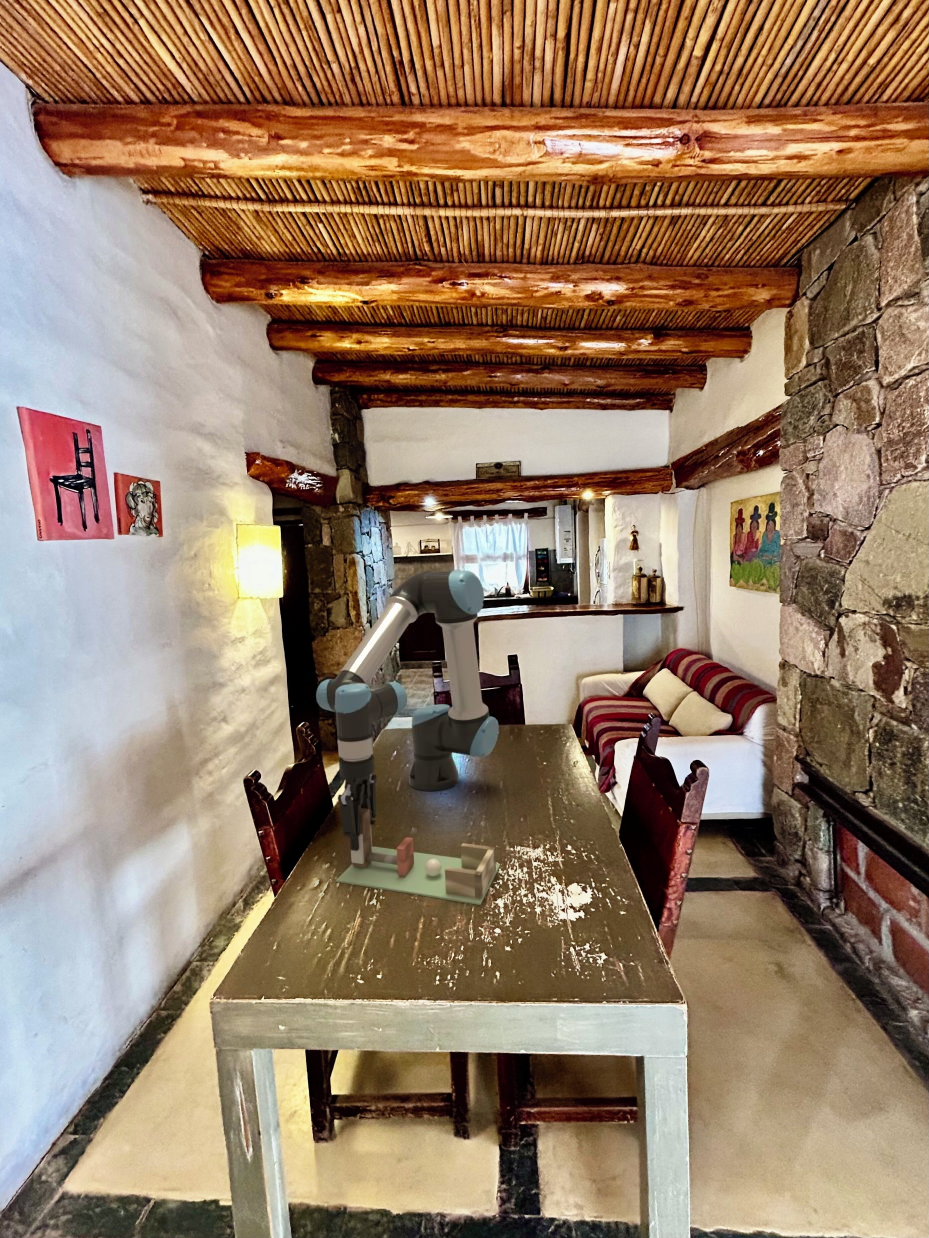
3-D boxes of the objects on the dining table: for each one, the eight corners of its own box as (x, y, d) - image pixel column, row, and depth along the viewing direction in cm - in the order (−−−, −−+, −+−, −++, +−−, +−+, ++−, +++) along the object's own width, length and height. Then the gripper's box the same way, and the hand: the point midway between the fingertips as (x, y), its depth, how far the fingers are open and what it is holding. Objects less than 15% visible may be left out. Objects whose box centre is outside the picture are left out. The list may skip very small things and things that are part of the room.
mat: (369, 847, 138) (369, 845, 138) (500, 865, 128) (500, 863, 128) (336, 881, 124) (336, 879, 124) (480, 905, 114) (480, 903, 114)
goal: (463, 864, 128) (462, 843, 128) (495, 869, 126) (495, 847, 126) (445, 893, 118) (444, 869, 117) (480, 898, 116) (480, 874, 115)
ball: (429, 869, 127) (428, 854, 126) (444, 872, 126) (443, 856, 125) (423, 878, 124) (422, 862, 123) (438, 880, 122) (437, 865, 122)
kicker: (361, 856, 133) (358, 805, 132) (414, 864, 129) (411, 811, 127) (350, 867, 128) (347, 815, 127) (404, 876, 124) (402, 822, 123)
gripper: (359, 742, 136) (364, 838, 139) (320, 767, 121) (327, 874, 123) (388, 744, 134) (393, 842, 136) (352, 770, 118) (359, 879, 121)
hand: (362, 857), depth 130 cm, fingers closed on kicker, 3 cm apart
